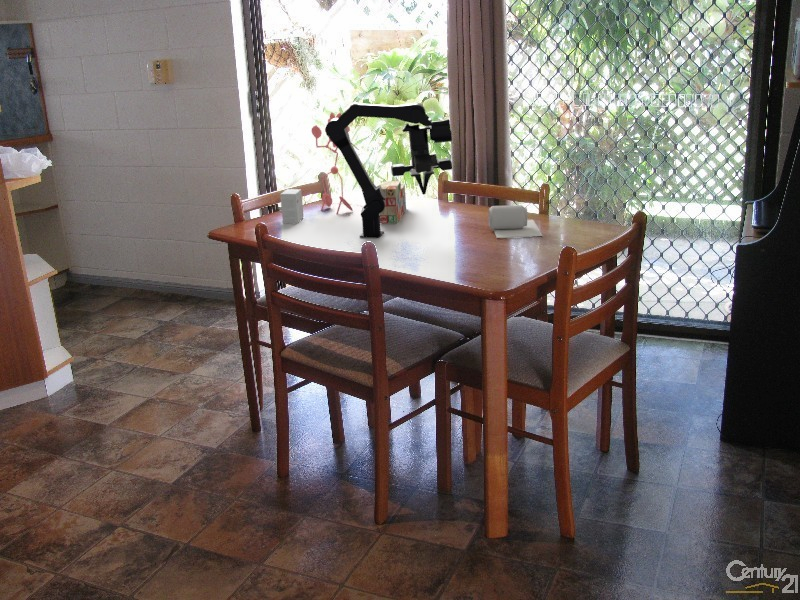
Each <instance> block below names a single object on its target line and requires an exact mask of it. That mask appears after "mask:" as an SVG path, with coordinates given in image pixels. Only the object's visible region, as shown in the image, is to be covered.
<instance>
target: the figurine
mask: <svg viewBox="0 0 800 600" xmlns="http://www.w3.org/2000/svg"><path fill="white" fill-rule="evenodd" d="M341 115H342V113H341V112H338V113H337V114H336V115H335V114H334V112H330V114H329V118H328V119H327V124H328V123H329V121H330V120H332V119H334V118H339V117H340V116H341ZM346 128H347V131H348V133H350V131H351V129H350V126H349V125H348V126H347V127H346ZM325 129H326V127H325V128H324V132H325V133H326V131H325ZM311 134H312V135H313V137H314V138H315V148H317V149H318V148H325V149H328V150H330V151H332V153H334V154H336V156H335V163H334V166H332V167H331V168H330V171H329V172H327V173H326V174H324V175H322V176H321V181H322V185H323V189H324V193H323V194H322V197H321V199H322V205H321V208H320V211H323V209H324V206H325V205H326V206H327V207H328V208H330V207H331V206H332V205H333V198H332V197H331V195H330V194H328V193H327V191H326V187H325V182H324V179H323V177H326V176H328V175H330V174H332V175H336V174H337V175H338V177H339V178H340V180H341V184H340V185H341V196H339V197H338V198H339V200H340V201H339V203H338V207H337V210H336V215H338V214H339V211H340V208H341V205H344V206H345V207H346V208H348V209H349V211H351V212H354V211H353V208H352V206H351V204H350V203H349V201H347V200H346V199H345V198H344V191H343V189H344V187H343V177H342V176H341V175H340V172H339V168H338V167H337V162H338V156H339V153H338V149H339V148H338V147H337V146H336V145H335V144H334V143H333V142H332V141H331V140H330V138H329V137H328V142H327V143H326V145H318V139H319V138H321V136H322V130H321V128H320V127H319V126H318V125H313V126H312V128H311ZM330 143H332V147H333V148H334V149H333V148H332V147H329V144H330ZM351 144H352V146H353V148H354V149H355V148H356V150H358V151H359V150H360V149H359V148H358V147H357V146H355V144H353V143H352V142H351ZM363 207H364V206H362V205H361V208H363ZM347 216H350V215H349V214H348V215H345V217H347Z"/></svg>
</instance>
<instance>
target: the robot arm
mask: <svg viewBox="0 0 800 600" xmlns="http://www.w3.org/2000/svg"><path fill="white" fill-rule="evenodd" d="M358 117H361V118H362V117H363V118H379V119H380V118H381V119H395V120H399V121H402V122H406V124H405V126H404V127H403V128H402V133H406V132H407V133H408V138H409V139H408V140H409V149H410V158H411V159H410V161H411V164H410V165H404V163H397V164H392V165H391V166H390V170H391V171H390V173H391V175H392V177H400V176H404V175H405V173H407V172H409V175H410V176H411V177H412V178H415V181H416V182H417V183H418V187H419V189H420V191H421V194H422V195H426V193H427V189H428V184H429V180H430V178H431V176H432V175H435V171H434V170H435V169H440V170H441V171H450V170H453V163H452V160H450V158H448V157H447V158H446V157H445V158H438V157H437V154H436V153H434V154H430V146H429V140H430V141H432V142H433V143H434V144H440V143H441V144H442V143H448V142H449V143H450V142H452V141H453V134H452V128H451V121H450V119H449V118H446V119H442V120H441V119H440V120H434V121H433V120H432V119H431V117H430V116H429V115H428V114H426V108H425V106H424V105H423V104H422V103H420V102H409V103H402V104H397V105H395V104H393V105H392V104H377V103H373V104H372V103H360V102H353V103H351V105H350V106H349V107H348V108H347V109H346V110H345V111H344V112H343V113H341V116H340V117H339V118H336V117H335V118H334V119H332V120H330V121H329V123H328V122H327V124H326V126H325V128H326V129H325V128H324V132H325V131H326V132H325V134H326V136H327V138H328V139H329V138H330V140H331V141H332V142H333V143H334V144H335V145H336V146H337V147H338V148H337V149H338V150H339V151H340V153H341V155H342V156H343V158H344V160H345V162H346V163H347V166H348V167H349V170H350V171H351V172H352V175H353V176H354V178H355V180H356V181H357V183H358V185H359V187H360V189H361V192H362V196H363V199H364V202H365V205H364V206H363V207H361V208H362V209H361V211H360V216H361V221H362V223H361V224H362V233H361V234H360V235H359V238H366V239H367V238H370V239H379V238H380V237H381V236H383V234H385V231H381V224H380V216H379V213H381V212H382V211H383V210H384V208H385V204H386V199H385V198H386V194H385V193H384V192H383V191H382V188H381V184H379V185H377V186H376V185H375V183H374V182H373V181H372V179H371V177H370V175H369V174H368V172H367V169H366V168H365V166H364V165H363V163H362V161H361V159H360V157H359V155H358V153H357V151H356V150H355V147H354V146H353V145H352V144H353V143H352V142H351V139H350V137H351V136H350V134H349V132H348V131H347V128H346V127H347V126H348V127H349V125H351V124H352V123H353V121H355V119H357V118H358ZM410 123H411V124H410ZM420 125H423V126H420ZM428 131H429V136H428ZM332 142H331V143H332ZM333 143H332V144H333ZM351 143H352V144H351ZM421 174H422V176H421Z"/></svg>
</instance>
